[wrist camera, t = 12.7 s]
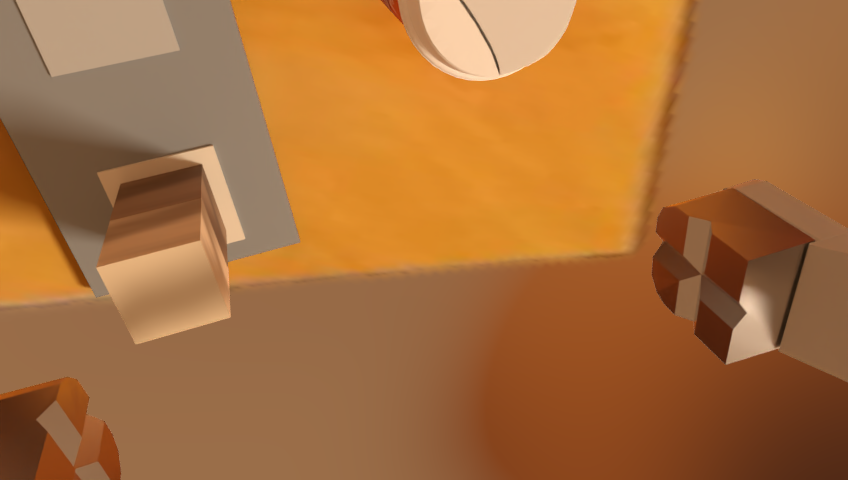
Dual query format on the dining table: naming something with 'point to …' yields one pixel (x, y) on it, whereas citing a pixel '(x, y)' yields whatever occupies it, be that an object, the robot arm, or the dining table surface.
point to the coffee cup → (483, 33)
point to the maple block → (165, 270)
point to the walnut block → (170, 197)
